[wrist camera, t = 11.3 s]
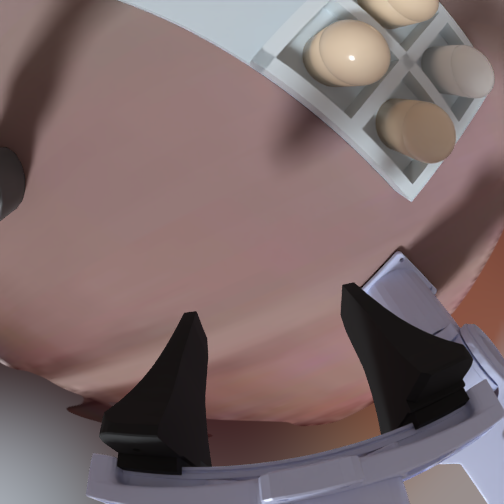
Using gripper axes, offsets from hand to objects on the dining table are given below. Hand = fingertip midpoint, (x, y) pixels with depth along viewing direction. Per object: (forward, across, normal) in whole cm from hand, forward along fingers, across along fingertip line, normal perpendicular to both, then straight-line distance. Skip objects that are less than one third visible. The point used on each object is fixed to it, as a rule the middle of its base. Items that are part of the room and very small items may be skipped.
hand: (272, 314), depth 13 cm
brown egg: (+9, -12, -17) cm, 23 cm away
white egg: (+9, -17, -12) cm, 23 cm away
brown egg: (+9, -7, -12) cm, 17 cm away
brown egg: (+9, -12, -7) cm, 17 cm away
